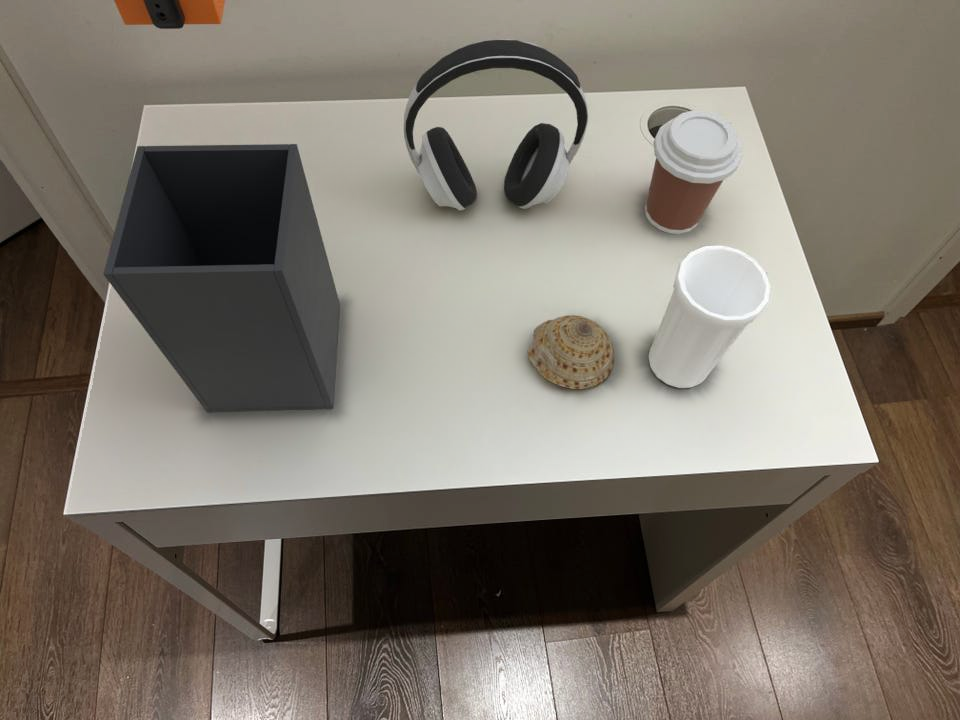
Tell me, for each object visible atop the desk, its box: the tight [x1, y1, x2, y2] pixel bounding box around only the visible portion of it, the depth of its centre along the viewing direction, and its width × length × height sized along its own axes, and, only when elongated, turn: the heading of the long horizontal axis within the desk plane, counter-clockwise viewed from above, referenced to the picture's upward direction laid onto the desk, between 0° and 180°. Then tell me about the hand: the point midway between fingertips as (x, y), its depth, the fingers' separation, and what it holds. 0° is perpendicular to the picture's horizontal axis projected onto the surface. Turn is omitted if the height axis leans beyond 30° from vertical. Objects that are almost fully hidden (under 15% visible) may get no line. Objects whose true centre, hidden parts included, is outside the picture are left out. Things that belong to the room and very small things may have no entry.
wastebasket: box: [103, 143, 341, 413], centre depth 61 cm, size 12×12×23 cm
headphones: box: [403, 38, 589, 211], centre depth 73 cm, size 19×8×20 cm, turn 95°
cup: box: [648, 245, 772, 389], centre depth 66 cm, size 8×8×14 cm
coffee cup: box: [644, 109, 743, 235], centre depth 76 cm, size 9×9×12 cm
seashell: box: [527, 314, 615, 390], centre depth 71 cm, size 8×6×8 cm
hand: (175, 5), depth 53 cm, fingers closed on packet, 4 cm apart
